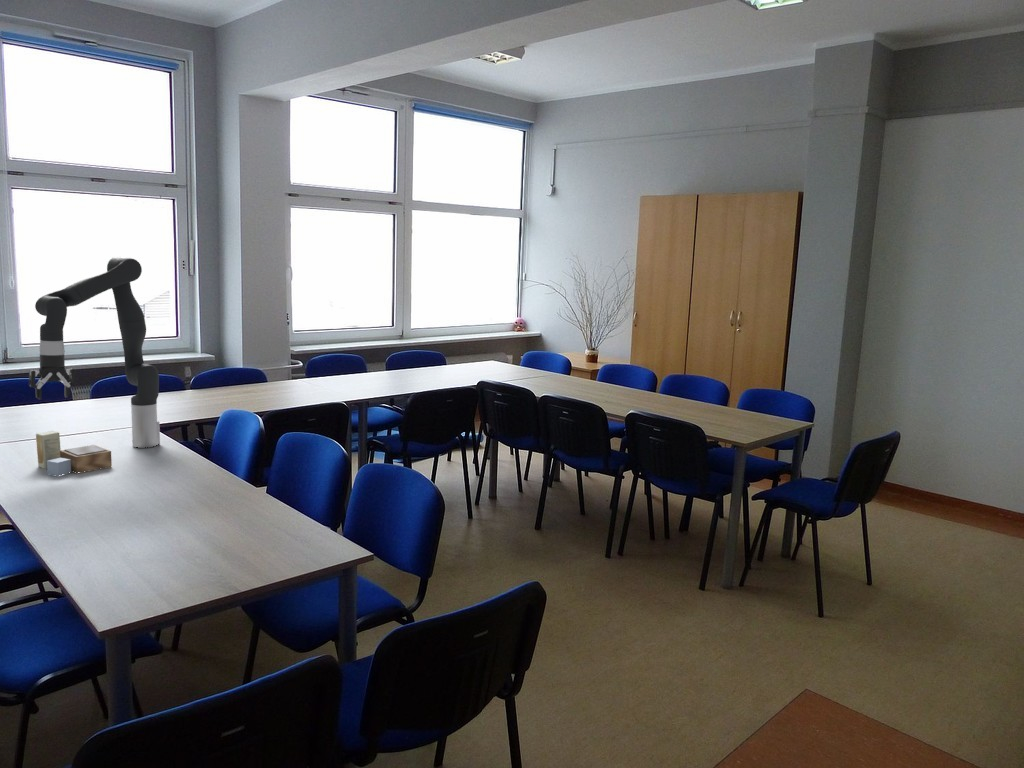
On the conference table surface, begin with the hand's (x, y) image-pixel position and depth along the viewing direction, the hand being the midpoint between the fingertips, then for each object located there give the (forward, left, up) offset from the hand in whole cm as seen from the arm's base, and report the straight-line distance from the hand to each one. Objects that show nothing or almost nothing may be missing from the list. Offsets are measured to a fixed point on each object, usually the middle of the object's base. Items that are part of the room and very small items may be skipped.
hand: (53, 398), depth 269 cm
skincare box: (+2, 0, -25) cm, 25 cm away
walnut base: (-6, +10, -24) cm, 27 cm away
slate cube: (+4, +12, -25) cm, 28 cm away
